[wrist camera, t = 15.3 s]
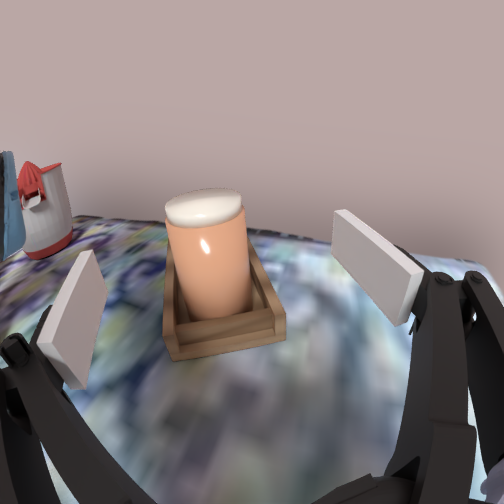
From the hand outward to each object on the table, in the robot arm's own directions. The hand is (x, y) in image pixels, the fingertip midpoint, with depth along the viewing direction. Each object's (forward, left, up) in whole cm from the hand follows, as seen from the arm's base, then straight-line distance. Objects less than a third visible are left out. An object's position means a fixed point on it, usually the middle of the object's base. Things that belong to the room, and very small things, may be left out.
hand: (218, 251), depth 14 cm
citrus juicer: (-50, +17, -14) cm, 55 cm away
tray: (-8, +14, -13) cm, 21 cm away
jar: (-5, +9, -12) cm, 16 cm away
